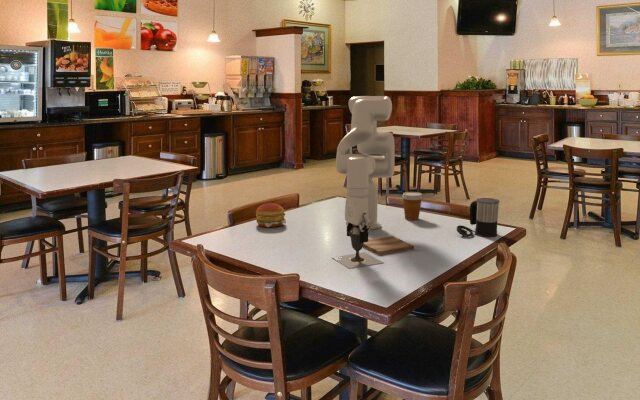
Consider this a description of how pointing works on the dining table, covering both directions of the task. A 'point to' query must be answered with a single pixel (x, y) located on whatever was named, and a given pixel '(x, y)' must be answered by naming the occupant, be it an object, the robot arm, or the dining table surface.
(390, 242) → the board
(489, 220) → the milk frother
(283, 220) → the burger
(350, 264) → the card
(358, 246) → the sundae
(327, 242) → the dining table surface
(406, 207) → the disposable coffee cup
